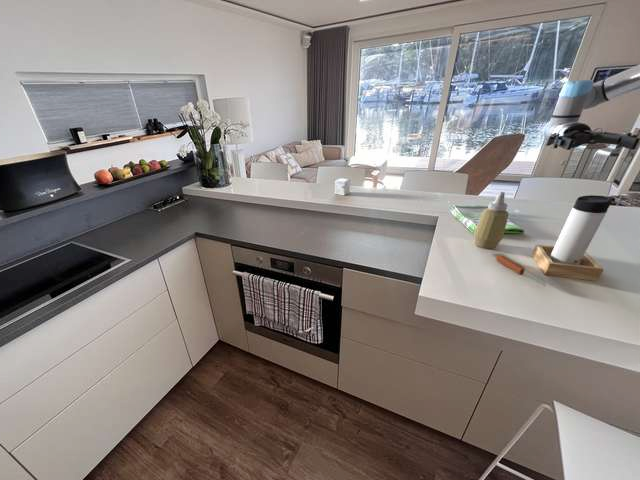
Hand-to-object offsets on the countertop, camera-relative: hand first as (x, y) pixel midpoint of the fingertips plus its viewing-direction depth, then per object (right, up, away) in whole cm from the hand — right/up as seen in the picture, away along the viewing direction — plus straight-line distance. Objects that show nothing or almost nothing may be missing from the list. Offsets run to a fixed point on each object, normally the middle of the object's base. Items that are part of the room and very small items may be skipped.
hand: (602, 144), depth 80 cm
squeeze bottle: (-21, -27, +16) cm, 38 cm away
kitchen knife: (-23, -36, +1) cm, 43 cm away
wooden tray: (-9, -34, +2) cm, 36 cm away
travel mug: (-9, -34, +2) cm, 35 cm away
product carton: (-56, +6, +77) cm, 96 cm away
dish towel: (-11, -17, +32) cm, 38 cm away
